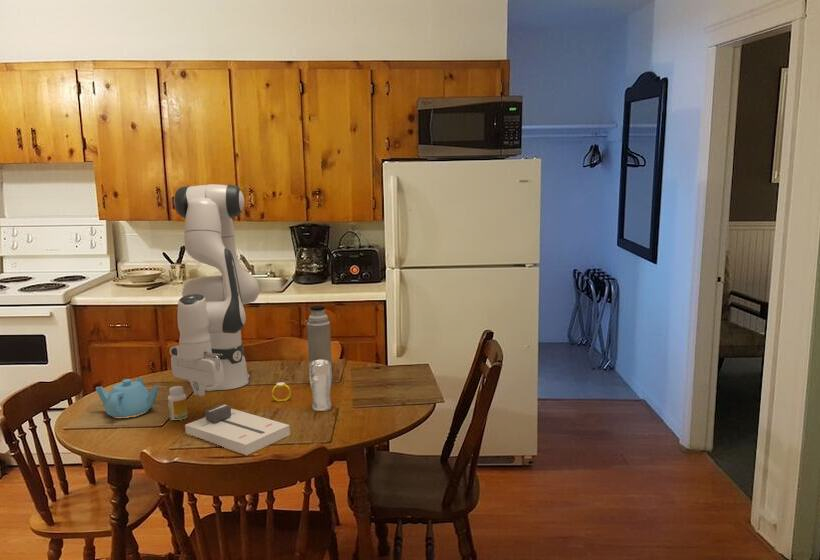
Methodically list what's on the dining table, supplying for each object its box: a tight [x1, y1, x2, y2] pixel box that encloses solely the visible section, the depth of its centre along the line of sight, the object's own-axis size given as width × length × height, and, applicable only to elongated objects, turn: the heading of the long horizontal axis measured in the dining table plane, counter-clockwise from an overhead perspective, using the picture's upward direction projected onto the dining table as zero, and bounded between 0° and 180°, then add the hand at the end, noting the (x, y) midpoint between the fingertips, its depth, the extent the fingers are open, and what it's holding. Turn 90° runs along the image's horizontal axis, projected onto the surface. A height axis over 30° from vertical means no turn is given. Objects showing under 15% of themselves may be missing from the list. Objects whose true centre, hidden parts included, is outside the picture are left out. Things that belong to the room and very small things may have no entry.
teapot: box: [95, 377, 160, 417], centre depth 210 cm, size 15×15×11 cm
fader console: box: [184, 407, 291, 456], centre depth 191 cm, size 26×16×3 cm, turn 55°
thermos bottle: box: [306, 305, 334, 387], centre depth 231 cm, size 8×8×28 cm
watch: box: [271, 381, 292, 402], centre depth 218 cm, size 6×3×6 cm, turn 101°
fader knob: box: [204, 403, 232, 423], centre depth 195 cm, size 4×6×3 cm, turn 145°
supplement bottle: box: [167, 385, 189, 421], centre depth 204 cm, size 5×5×10 cm
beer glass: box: [308, 359, 333, 412], centre depth 209 cm, size 7×7×15 cm
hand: (199, 395), depth 198 cm, fingers closed
